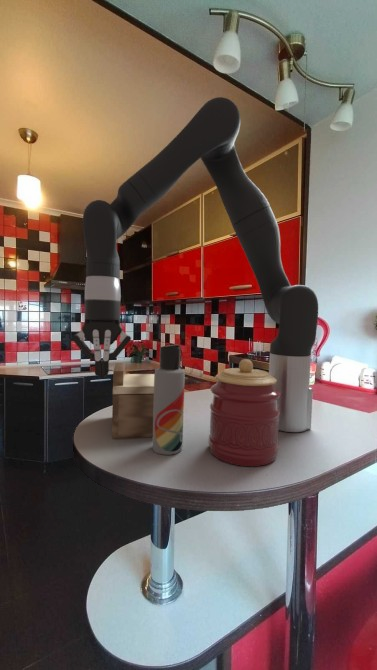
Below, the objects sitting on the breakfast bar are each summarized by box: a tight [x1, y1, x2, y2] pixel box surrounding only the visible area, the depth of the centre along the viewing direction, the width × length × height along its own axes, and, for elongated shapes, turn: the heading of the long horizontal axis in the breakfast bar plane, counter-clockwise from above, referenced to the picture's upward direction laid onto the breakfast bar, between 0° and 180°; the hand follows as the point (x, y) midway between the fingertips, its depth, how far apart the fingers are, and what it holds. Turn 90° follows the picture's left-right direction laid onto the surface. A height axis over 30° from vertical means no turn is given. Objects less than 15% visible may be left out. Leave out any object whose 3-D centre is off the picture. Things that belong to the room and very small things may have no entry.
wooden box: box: [111, 393, 154, 440], centre depth 69 cm, size 12×14×9 cm
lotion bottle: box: [152, 344, 186, 456], centre depth 57 cm, size 6×6×20 cm
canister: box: [208, 358, 281, 467], centre depth 57 cm, size 13×13×18 cm
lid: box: [112, 362, 154, 395], centre depth 68 cm, size 12×14×4 cm
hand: (101, 377), depth 67 cm, fingers closed
